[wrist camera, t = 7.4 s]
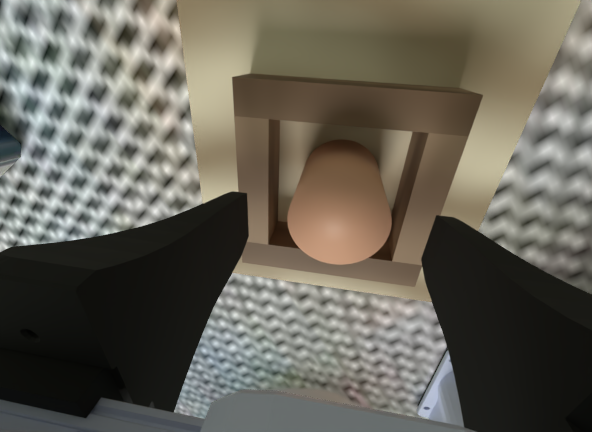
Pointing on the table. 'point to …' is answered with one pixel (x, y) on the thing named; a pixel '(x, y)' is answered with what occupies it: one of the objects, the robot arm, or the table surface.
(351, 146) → the peg
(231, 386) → the table surface
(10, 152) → the grey long angled cylinder
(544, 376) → the robot arm
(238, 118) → the socket board
